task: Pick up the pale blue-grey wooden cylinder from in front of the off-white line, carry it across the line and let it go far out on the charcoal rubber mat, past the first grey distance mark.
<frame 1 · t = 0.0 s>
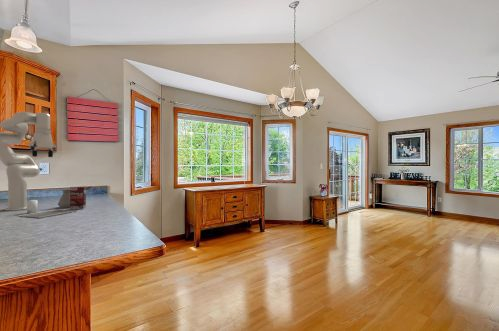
hand: (42, 156, 165), 37 cm above the counter, tool pointing down, fingers open, 9 cm apart
supplement box: (78, 209, 174), on the counter
throwing mat: (49, 214, 154), on the counter
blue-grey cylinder: (32, 212, 159), on the counter
coffee pot: (75, 206, 184), on the counter
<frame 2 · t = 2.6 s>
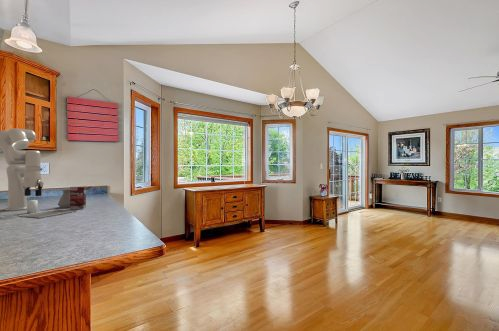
hand: (32, 195, 158), 11 cm above the counter, tool pointing down, fingers open, 9 cm apart
nothing on the counter moved.
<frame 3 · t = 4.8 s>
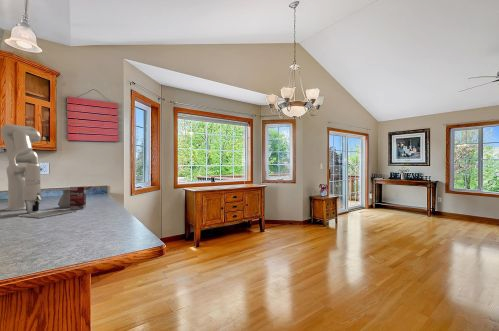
hand: (32, 210, 159), 1 cm above the counter, tool pointing down, fingers closed on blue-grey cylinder, 4 cm apart
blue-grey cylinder: (32, 212, 159), on the counter, touching gripper
everything else where it was.
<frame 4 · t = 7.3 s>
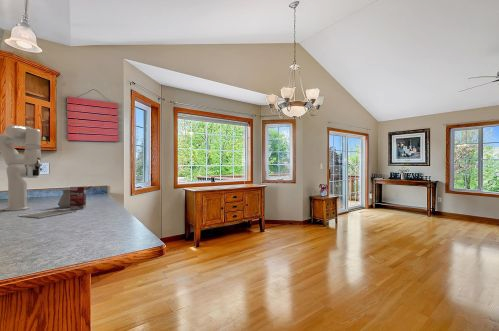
hand: (32, 175, 159), 24 cm above the counter, tool pointing down, fingers closed on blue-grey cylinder, 4 cm apart
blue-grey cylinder: (32, 177, 159), point 23 cm above the counter, touching gripper
everything else where it was.
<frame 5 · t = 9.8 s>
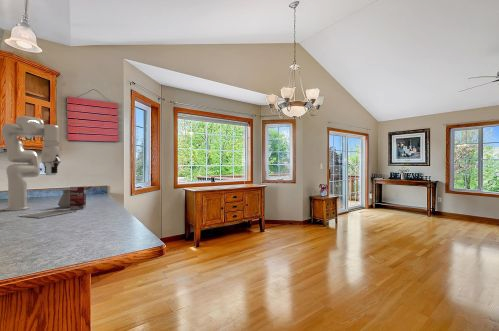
hand: (51, 172, 154), 26 cm above the counter, tool pointing down, fingers closed on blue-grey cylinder, 4 cm apart
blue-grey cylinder: (50, 175, 154), point 25 cm above the counter, touching gripper
everything else where it was.
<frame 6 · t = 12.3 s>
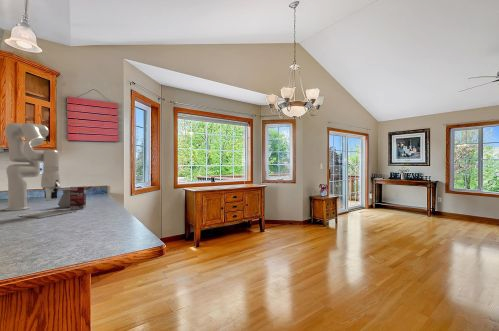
hand: (50, 198, 154), 10 cm above the counter, tool pointing down, fingers closed on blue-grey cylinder, 4 cm apart
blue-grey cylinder: (50, 200, 154), point 9 cm above the counter, touching gripper
everything else where it was.
when the fingers open (3 cm above the counter, at t = 14.6 s): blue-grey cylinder drops 1 cm, resting on throwing mat.
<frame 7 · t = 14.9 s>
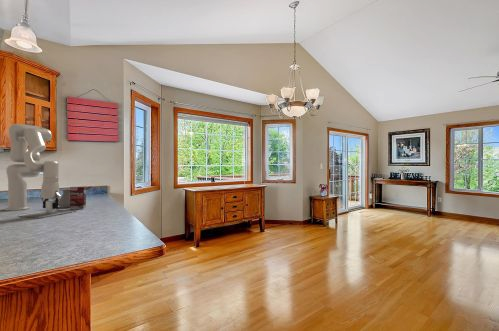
hand: (50, 208, 154), 4 cm above the counter, tool pointing down, fingers open, 7 cm apart
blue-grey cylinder: (50, 213, 154), point 1 cm above the counter, touching throwing mat
everything else where it was.
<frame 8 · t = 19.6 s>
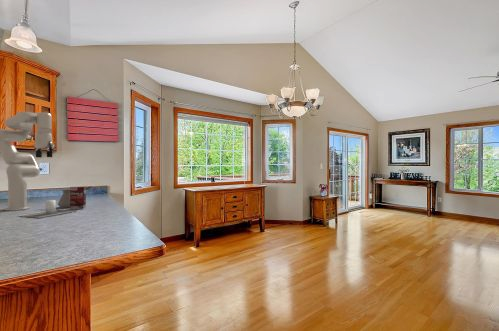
hand: (44, 157, 161), 36 cm above the counter, tool pointing down, fingers open, 9 cm apart
nothing on the counter moved.
at the end: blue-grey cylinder inside the target area (0.4 cm from its centre), point 0.5 cm above the counter; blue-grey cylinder tilted 1°; the gripper is holding nothing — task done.
